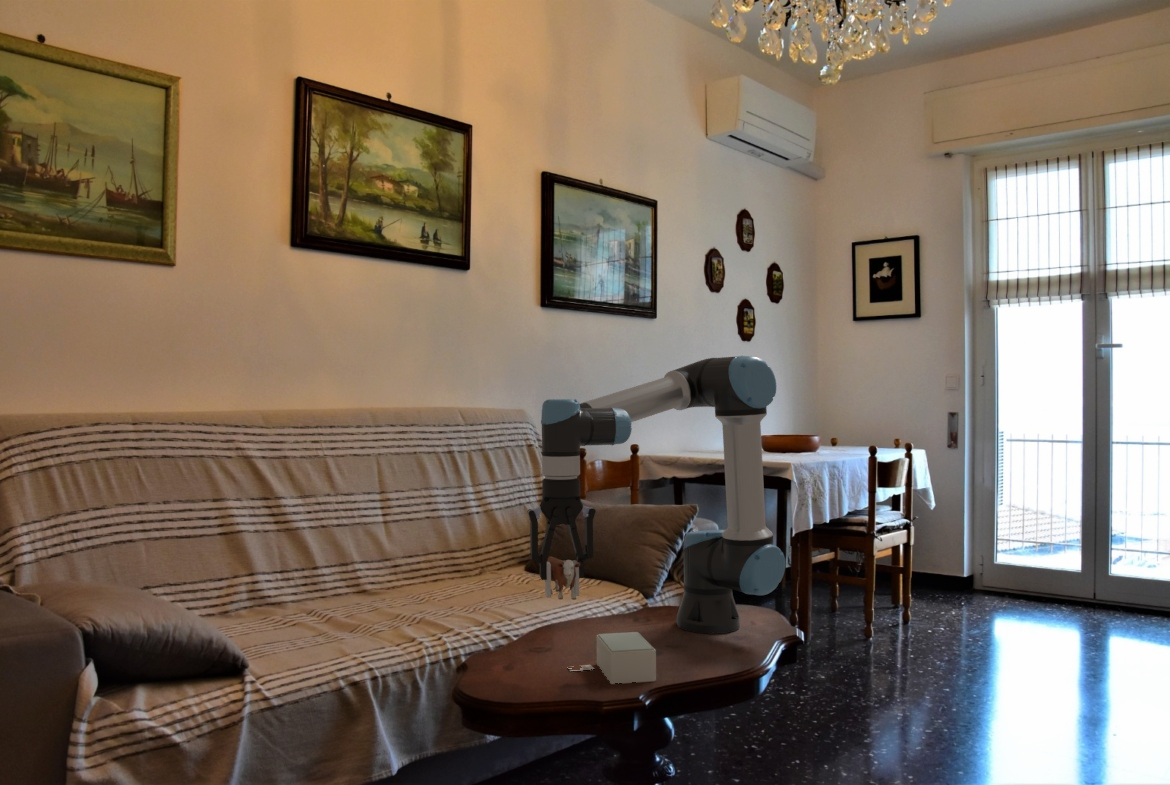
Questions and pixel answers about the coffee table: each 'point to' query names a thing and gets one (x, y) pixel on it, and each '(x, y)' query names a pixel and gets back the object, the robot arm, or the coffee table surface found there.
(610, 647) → the plinth
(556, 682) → the coffee table surface
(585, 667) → the page
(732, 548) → the robot arm
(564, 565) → the bull figurine
